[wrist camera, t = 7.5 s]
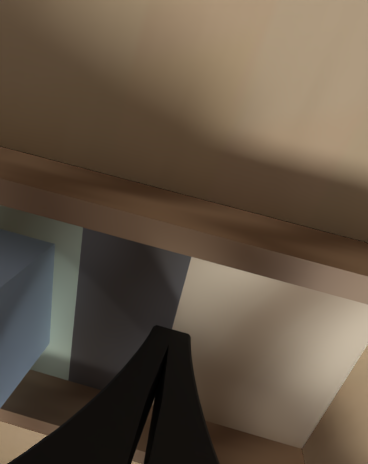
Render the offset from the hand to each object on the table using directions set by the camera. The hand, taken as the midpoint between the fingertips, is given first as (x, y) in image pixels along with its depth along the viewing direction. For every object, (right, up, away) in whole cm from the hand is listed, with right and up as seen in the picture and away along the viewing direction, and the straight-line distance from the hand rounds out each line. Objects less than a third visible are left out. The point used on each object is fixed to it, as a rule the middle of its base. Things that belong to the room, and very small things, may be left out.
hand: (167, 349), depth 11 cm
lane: (-4, +2, +2) cm, 5 cm away
